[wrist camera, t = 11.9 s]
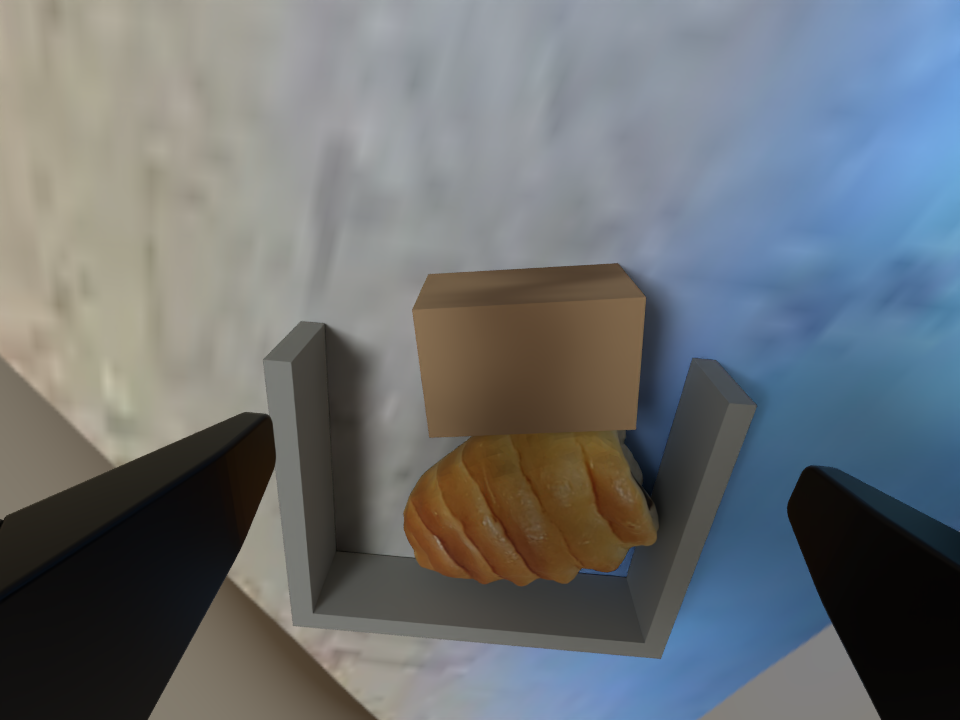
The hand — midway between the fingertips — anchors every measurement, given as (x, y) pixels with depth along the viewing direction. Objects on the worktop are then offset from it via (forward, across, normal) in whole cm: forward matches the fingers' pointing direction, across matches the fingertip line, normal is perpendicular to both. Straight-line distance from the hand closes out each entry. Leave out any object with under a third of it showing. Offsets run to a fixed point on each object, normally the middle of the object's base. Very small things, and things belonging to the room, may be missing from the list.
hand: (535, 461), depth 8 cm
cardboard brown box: (+9, 0, +1) cm, 9 cm away
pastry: (+9, -2, +7) cm, 12 cm away
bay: (+9, 0, +7) cm, 11 cm away
